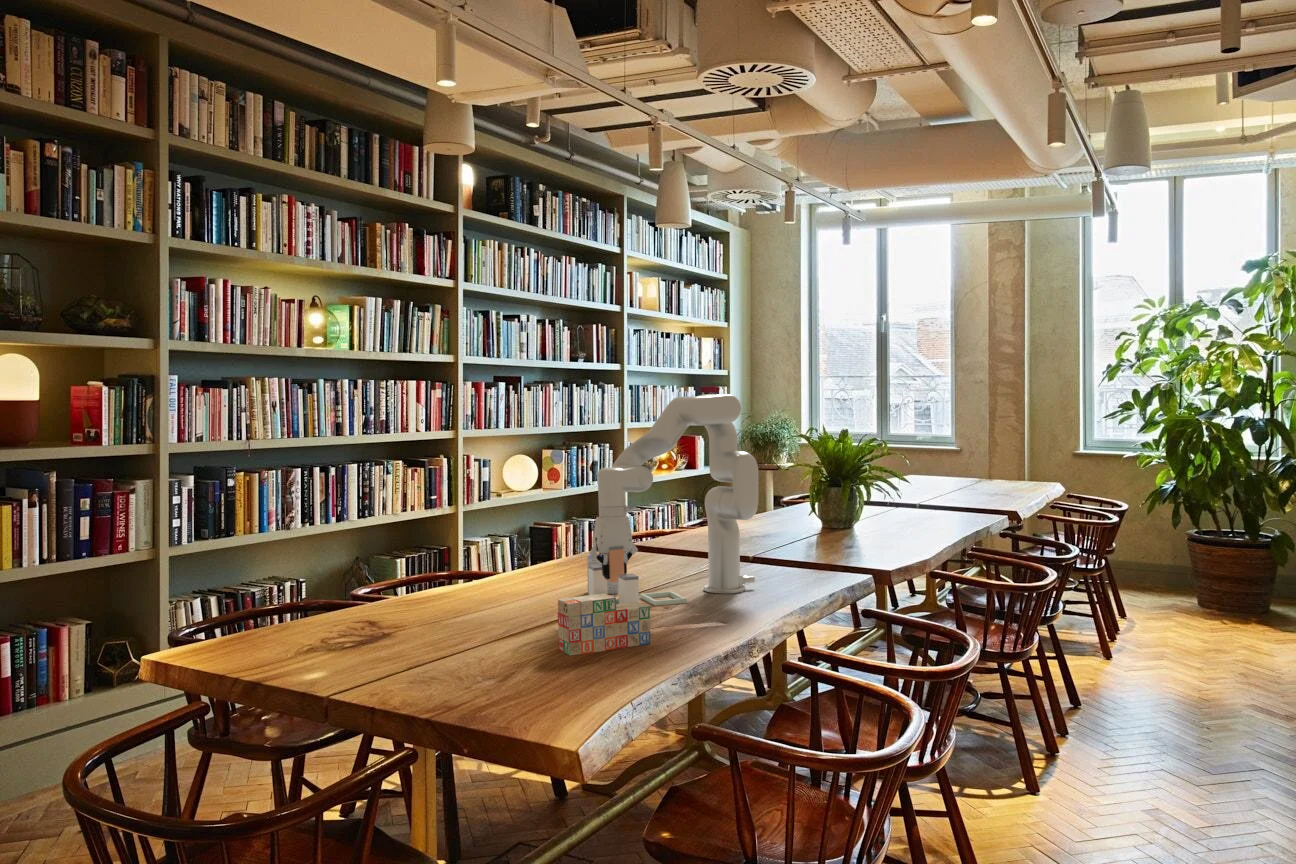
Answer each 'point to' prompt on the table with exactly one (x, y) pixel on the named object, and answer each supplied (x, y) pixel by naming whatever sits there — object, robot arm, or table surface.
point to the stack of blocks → (601, 624)
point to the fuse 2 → (628, 588)
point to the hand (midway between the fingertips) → (614, 576)
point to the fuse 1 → (597, 580)
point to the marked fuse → (615, 563)
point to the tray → (650, 596)
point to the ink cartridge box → (611, 587)
